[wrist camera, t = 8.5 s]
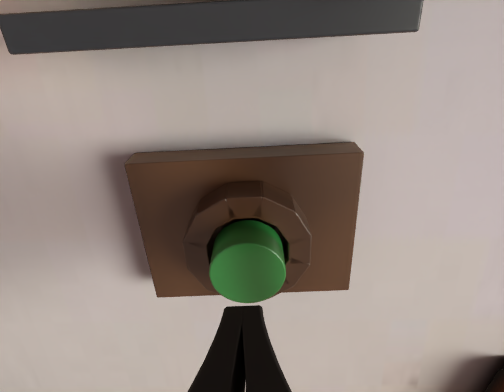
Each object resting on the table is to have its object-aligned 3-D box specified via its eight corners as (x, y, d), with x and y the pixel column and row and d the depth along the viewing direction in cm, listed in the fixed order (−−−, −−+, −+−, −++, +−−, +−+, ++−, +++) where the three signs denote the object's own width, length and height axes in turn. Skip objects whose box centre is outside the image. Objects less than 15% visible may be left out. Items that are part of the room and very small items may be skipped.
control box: (163, 279, 22) (148, 320, 19) (134, 152, 18) (109, 178, 15) (342, 271, 22) (357, 312, 18) (354, 141, 17) (377, 165, 14)
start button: (216, 277, 18) (213, 305, 16) (210, 221, 16) (204, 245, 14) (282, 274, 18) (286, 302, 16) (282, 217, 16) (286, 241, 14)
